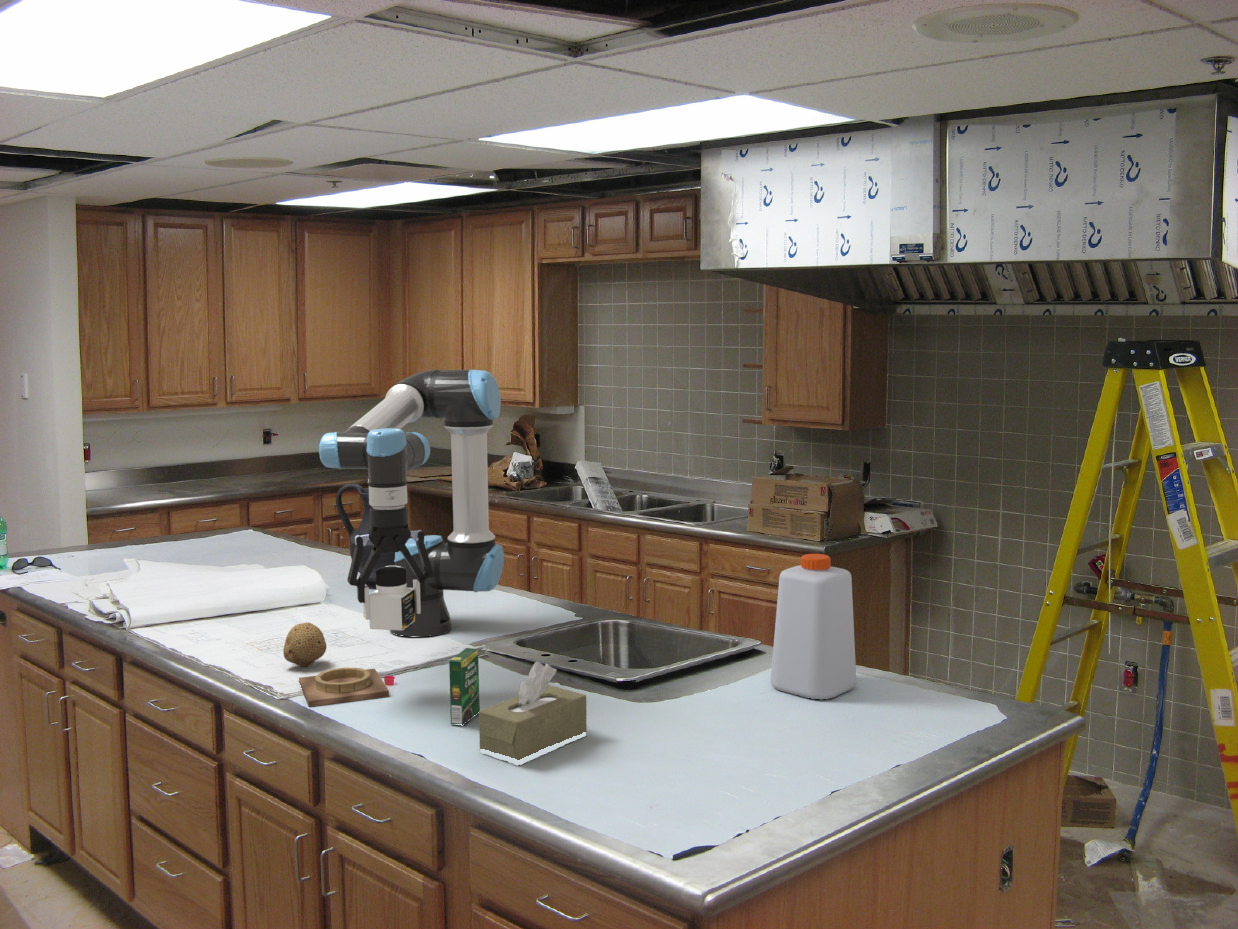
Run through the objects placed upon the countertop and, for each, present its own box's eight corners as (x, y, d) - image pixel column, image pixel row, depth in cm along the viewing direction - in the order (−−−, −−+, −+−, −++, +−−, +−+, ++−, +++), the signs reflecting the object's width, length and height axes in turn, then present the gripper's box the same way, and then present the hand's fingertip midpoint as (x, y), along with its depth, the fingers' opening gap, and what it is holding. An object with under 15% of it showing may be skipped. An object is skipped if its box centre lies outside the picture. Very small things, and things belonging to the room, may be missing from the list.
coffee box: (463, 727, 209) (461, 660, 208) (449, 726, 210) (447, 659, 208) (481, 713, 217) (479, 648, 215) (467, 712, 218) (466, 647, 216)
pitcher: (404, 592, 314) (401, 488, 311) (331, 592, 315) (327, 488, 311) (416, 578, 332) (413, 479, 328) (346, 578, 332) (343, 479, 328)
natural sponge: (336, 663, 249) (334, 620, 247) (309, 675, 241) (307, 630, 239) (304, 658, 252) (302, 616, 251) (277, 670, 244) (275, 625, 243)
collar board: (374, 673, 241) (374, 660, 241) (389, 696, 227) (388, 682, 226) (299, 683, 235) (298, 669, 235) (308, 707, 221) (308, 692, 220)
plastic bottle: (762, 688, 231) (764, 556, 228) (802, 671, 242) (805, 545, 239) (824, 705, 221) (827, 567, 218) (863, 686, 232) (867, 555, 229)
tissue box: (517, 768, 190) (516, 679, 188) (477, 754, 197) (476, 668, 195) (588, 736, 205) (587, 653, 203) (549, 724, 211) (548, 644, 209)
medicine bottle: (403, 631, 221) (401, 572, 219) (369, 629, 222) (367, 571, 220) (415, 621, 228) (413, 564, 226) (382, 619, 229) (380, 563, 227)
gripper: (335, 513, 213) (339, 626, 217) (447, 505, 222) (450, 613, 226) (328, 507, 220) (333, 616, 223) (438, 499, 229) (440, 604, 232)
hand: (392, 615), depth 224 cm, fingers closed on medicine bottle, 10 cm apart
